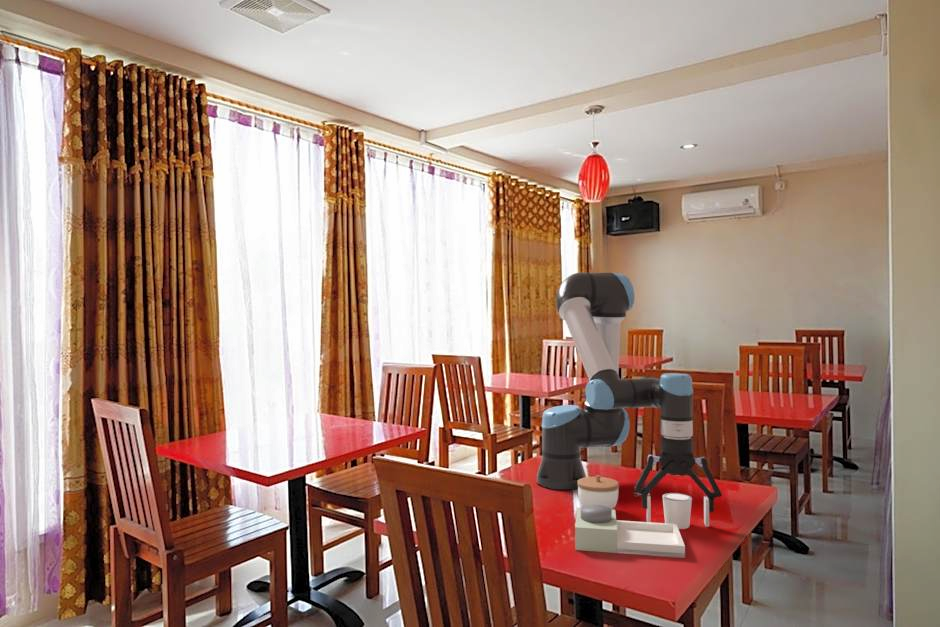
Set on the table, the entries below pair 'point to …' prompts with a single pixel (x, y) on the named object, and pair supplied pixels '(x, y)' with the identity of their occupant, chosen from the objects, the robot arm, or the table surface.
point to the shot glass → (677, 509)
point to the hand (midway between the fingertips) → (677, 523)
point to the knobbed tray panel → (625, 534)
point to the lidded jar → (598, 491)
